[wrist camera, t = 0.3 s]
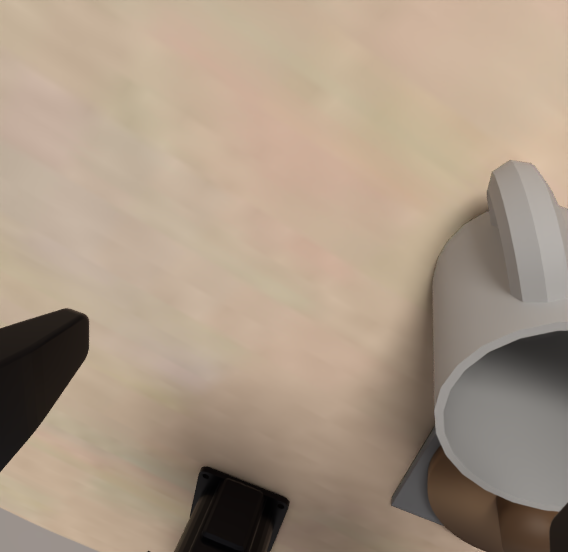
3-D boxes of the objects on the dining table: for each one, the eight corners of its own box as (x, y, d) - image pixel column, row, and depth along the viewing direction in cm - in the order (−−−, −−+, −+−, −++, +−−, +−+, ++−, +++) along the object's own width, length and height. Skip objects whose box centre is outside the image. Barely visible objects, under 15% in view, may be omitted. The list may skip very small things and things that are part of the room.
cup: (447, 350, 24) (456, 511, 16) (403, 157, 20) (387, 251, 12) (618, 333, 21) (723, 515, 13) (606, 105, 17) (746, 184, 10)
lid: (566, 567, 28) (582, 632, 25) (401, 503, 29) (399, 560, 26) (679, 464, 23) (717, 532, 20) (473, 391, 24) (479, 446, 21)
